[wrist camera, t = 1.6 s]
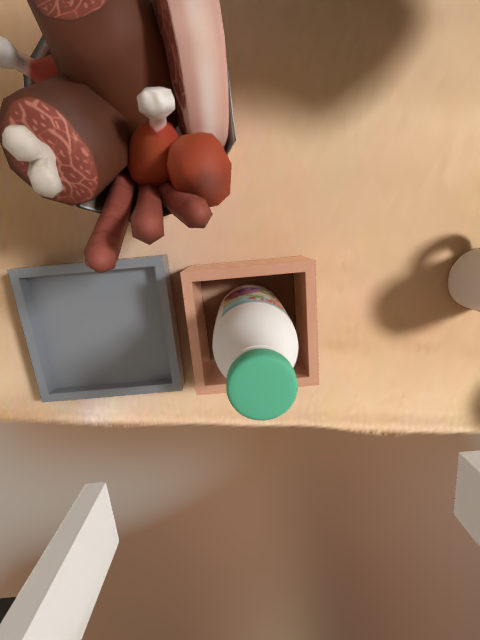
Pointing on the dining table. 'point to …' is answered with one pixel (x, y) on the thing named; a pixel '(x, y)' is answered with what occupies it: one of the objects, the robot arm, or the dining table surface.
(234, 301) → the milk bottle
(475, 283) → the cup
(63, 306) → the tray
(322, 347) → the dining table surface
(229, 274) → the deep holder
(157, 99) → the bucket of meat
